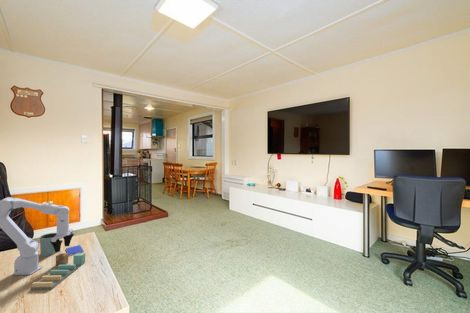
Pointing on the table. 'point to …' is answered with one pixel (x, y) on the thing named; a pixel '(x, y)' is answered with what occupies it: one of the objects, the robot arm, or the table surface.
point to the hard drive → (74, 250)
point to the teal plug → (79, 259)
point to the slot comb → (54, 277)
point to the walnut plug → (62, 259)
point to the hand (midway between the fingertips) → (62, 248)
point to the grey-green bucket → (47, 244)
